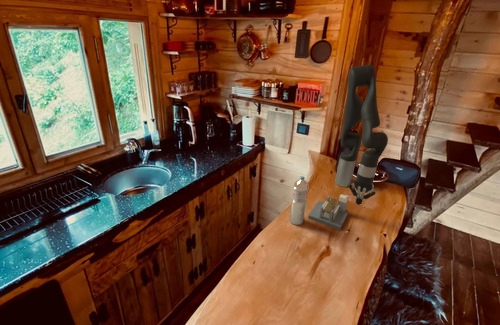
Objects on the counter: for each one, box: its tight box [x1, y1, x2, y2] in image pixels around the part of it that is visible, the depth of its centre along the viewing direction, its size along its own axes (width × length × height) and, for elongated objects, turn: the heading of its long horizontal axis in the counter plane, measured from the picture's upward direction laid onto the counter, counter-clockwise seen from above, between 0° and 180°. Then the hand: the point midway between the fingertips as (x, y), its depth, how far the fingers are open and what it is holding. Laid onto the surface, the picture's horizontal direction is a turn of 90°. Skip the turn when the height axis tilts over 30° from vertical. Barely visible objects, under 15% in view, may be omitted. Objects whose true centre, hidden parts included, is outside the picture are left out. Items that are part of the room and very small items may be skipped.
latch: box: [338, 193, 350, 204], centre depth 139 cm, size 3×4×3 cm
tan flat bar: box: [324, 197, 338, 213], centre depth 138 cm, size 14×3×1 cm, turn 148°
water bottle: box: [289, 175, 310, 226], centre depth 130 cm, size 7×7×25 cm
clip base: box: [307, 194, 350, 231], centre depth 138 cm, size 16×16×8 cm
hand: (358, 203), depth 136 cm, fingers closed
